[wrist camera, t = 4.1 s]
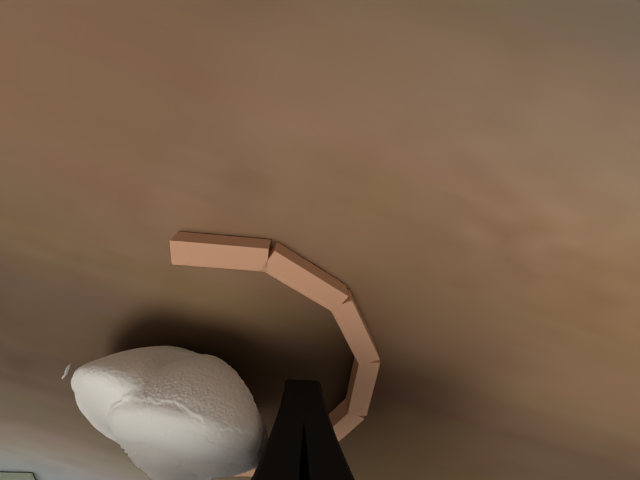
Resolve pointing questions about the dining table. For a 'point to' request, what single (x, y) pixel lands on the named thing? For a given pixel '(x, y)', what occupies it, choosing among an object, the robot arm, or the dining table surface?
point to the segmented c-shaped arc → (307, 282)
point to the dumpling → (173, 412)
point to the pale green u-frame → (16, 476)
